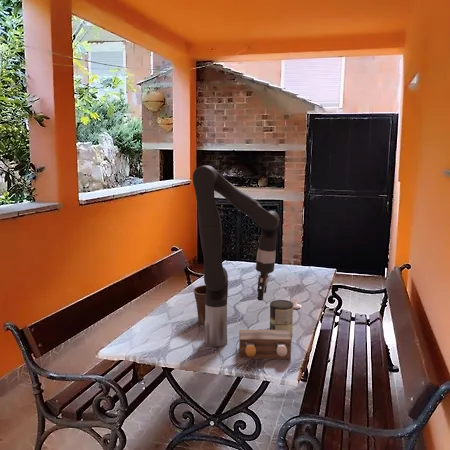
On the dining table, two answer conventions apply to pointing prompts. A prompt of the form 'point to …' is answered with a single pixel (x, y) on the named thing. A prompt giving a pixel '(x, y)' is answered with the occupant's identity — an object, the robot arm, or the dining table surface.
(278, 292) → the dining table surface
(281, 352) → the ivory button
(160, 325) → the dining table surface
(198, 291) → the plant pot
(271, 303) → the coffee can
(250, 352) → the amber button
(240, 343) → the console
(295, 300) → the teacup and saucer
